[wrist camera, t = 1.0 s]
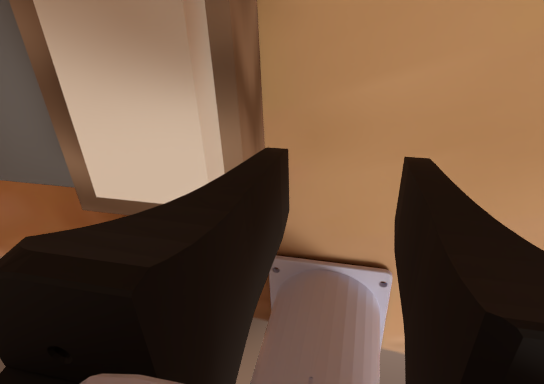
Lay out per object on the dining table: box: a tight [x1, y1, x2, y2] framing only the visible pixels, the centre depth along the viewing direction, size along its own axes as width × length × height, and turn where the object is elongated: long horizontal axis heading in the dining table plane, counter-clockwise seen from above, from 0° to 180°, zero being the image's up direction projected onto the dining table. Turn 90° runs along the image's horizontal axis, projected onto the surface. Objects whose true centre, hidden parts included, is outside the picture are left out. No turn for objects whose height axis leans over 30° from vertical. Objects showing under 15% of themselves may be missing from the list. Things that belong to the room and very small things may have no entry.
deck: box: [9, 0, 265, 215], centre depth 20 cm, size 14×10×4 cm
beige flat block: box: [33, 0, 225, 204], centre depth 17 cm, size 9×6×2 cm, turn 2°
